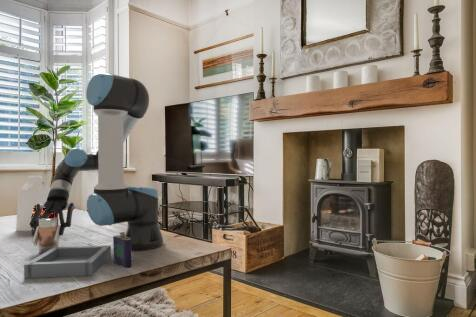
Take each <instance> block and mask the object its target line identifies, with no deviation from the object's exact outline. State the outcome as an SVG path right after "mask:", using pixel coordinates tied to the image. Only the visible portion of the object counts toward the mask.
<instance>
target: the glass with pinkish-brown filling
mask: <svg viewBox="0 0 476 317" xmlns="http://www.w3.org/2000/svg"><path fill="white" fill-rule="evenodd" d="M58 225H59V217H54V218H43V219H39V239H38V253H39V254H43V253H45V252H47V251H48V250H50V249H52V248H54V247H60V245H59V243H60V242H58V244H55V242H54V238H55V234H56V231H57V227H58Z"/></svg>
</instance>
